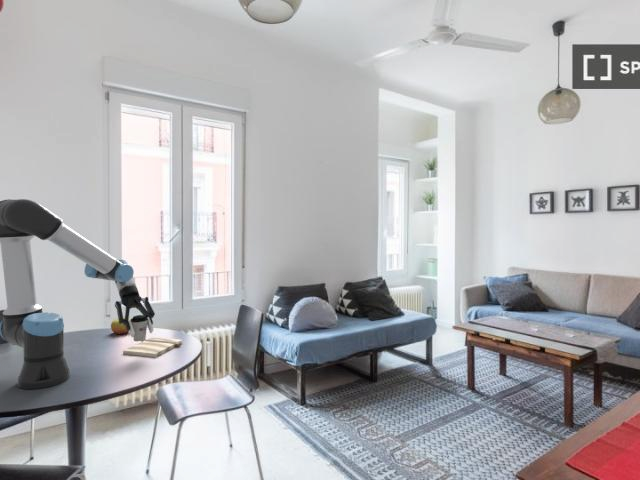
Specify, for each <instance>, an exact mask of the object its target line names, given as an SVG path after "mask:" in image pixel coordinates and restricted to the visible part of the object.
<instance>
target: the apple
mask: <svg viewBox="0 0 640 480" xmlns="http://www.w3.org/2000/svg"><path fill="white" fill-rule="evenodd" d="M123 319H125V317H123ZM130 320H131V319H130V318H129V319H128V321H130ZM110 329H111V331H112V333H114V334H116V335H124V334H127V333H128V332H129V333H130V331H129V330H127V329H126V326H125V325H124V323H121V324H120V323H119V320H118V318H115V319H113V320H112V322H111V323H110Z"/></svg>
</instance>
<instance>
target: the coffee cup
mask: <svg viewBox="0 0 640 480" xmlns="http://www.w3.org/2000/svg"><path fill="white" fill-rule="evenodd" d="M130 320H131V323H132V326H133V329H134V332H135V335H134V337H132V338H133V342H142V341H143V340H147V330H148V326H147V320H148V318H147V317H146V316H145V315H143V314H138V315H134V316H133V317H132V318H131V319H130Z"/></svg>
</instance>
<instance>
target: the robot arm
mask: <svg viewBox="0 0 640 480" xmlns="http://www.w3.org/2000/svg"><path fill="white" fill-rule="evenodd" d="M63 221H64V220H63V219H62V217H59V216H58V215H56V214H55V213H53V211H51V210H49V209H48V208H46V207H44V206H43V205H41V204H40V203H38V202H36V201H33V200H31V199H26V198H25V199H24V198H23V199H22V198H21V199H20V198H19V199H10V198H9V199H3V200H0V250H1V251H0V253H1V260H2V269H3V277H4V278H3V279H4V287H5V298H6V305H7V307H6V308H5V310H3V312H2V320H1V322H0V336H1V338H2V339H3V340H4V341H5V342H7V343H8V344H10V345H13V346H17V347H20V348H23V362H22V367H21V369H20V373H19V376H18V377H17V387H18V388H19V389H23V390H37V389H44V388H49V387H52V386H55V385H59V384H61V383H64V382H65V381H67V380H68V379H69V378H70V376H71V374H70V371H71V370H70V368H69V366H68V363H67V361H66V359H65V356H64V355H65V352H64V351H65V350H64V347H65V342H64V339H65V338H64V334H65V333H64V330H65V329H64V328H65V324H64V318H63V316H61V315H60V314H58V313H54V312H43V306H42V305H40V304H38V303H37V296H36V295H37V294H36V286H35V276H34V265H33V257H32V256H33V255H32V246H31V240H32V239H33V238H34V237H36V238H37V239H40V240H42V241H49V243H50V242H51V243H53V245H56V246H58V247H59V248H60V249H62V250H64V251H65V252H67V253H68V254H70V255H72V256H74V257H75V258H77V259H78V260H80V261H81V262H84V263H85V267H84V275H85V277H87V278H92V279H98V280H99V279H100V280H105V281H106V280H107V281H113V282H114V283H115V286H116V289H117V292H118V295H119V298H120V300H119V301H118V300H116V301H115V303H114V307H115V309H116V313H117V317H118V318H117V319H118V320H119V323H120V324H121V323H124V325H125V326H126V329H127V330H129V334H130V337H131V338H133V337H134V335H135V332H134V329H133V326H132V323H131V319H130V310H131V309H133V308H134V309H136V310H139V312H140V313H141V315H145V316H146V317H147V318H148V320H147V330H148V331H149V334H152V333H153V332H154V327H153V325H154V320H153V318H154V317H155V311H154V309H153V307H152V306H151V303H150V301H149V297H148V296H146V297H141V296H140V293H139V290H138V287H137V285H136V281H135V278H134V274H135V273H134V272H135V271H134V267H133V266H131V265H130V264H129V263H128V261H127V260H125V259H117V258H115V257H113V256H112V255H110V254H109V253H107V252H106V251H105V250H103V249H101V248H100V247H98V246H97V245H96V244H94V243H93V242H91V241H89V240H88V239H86V238H85V237H83V236H82V235H81V234H79V233H78V232H76V231H75V230H73V229H72V228H70V227H69V226H67V225H66V224H65V223H63ZM122 305H123V307H125V310H124V311H125V312H124V313H125V314H124V315H123V309H122V308H123V307H122ZM123 318H125V319H123ZM128 319H130V321H128Z"/></svg>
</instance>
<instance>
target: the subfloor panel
mask: <svg viewBox="0 0 640 480" xmlns="http://www.w3.org/2000/svg"><path fill="white" fill-rule="evenodd" d="M182 344H183V340H182V339H175V338H165V337H153V336H152V337H150V338H148V339H145V340H143V341H140V342H139V343H137V344H135V345H132V346H130V347H128V348H126V349H123V350H122V354H123V355H131V356H139V357H141V356H142V357H150V358H157V357H159V356H160V355H162V354H164V353H167V352H168V351H170V350H172V349H174V348H179V347H181V345H182Z"/></svg>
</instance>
